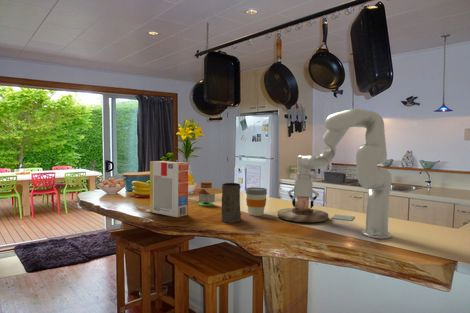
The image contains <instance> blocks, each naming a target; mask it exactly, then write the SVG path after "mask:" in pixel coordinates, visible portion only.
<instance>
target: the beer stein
mask: <svg viewBox="0 0 470 313" xmlns="http://www.w3.org/2000/svg"><path fill="white" fill-rule="evenodd" d="M241 187H242V186H241V184H240V183H238V182H237V183H236V182H225V183H222V184H221V191H222V192H221V217H220V218H221V219H220V221H222V222H223V223H226V224H228V223H229V224H232V223H239V222H240V221H242V215H241V214H242V213H241Z"/></svg>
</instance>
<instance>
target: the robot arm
mask: <svg viewBox="0 0 470 313" xmlns="http://www.w3.org/2000/svg"><path fill="white" fill-rule="evenodd" d="M324 126H325V129H327V130H326V131H325V133H324V134H323V136H322V142H323V144H325V147H324V149H323V150H322V152H321V154H312V155H311V154H310V155H309V154H299V155H298V156H297V157H296V158H297V159H296V160H297V163H296V178H295V180H294V186H293V189H290V190H288V191H287V194H288V196H289V198H290V199H291V200H292V202H291V203H292V204H291V205H292V208H294V207H295V201H296V198H297V197H309V200H310V205H309V206H310V209H313V207H314V201H315V200H316V199H317V198H318V196H319V194H320V193H319V192H318V191H315V190H314V189H313V178H314V175H312V174H311V170H318V169H319V170H320V169H322V170H323V169H325V168H327V167H328V166H329V165H330V163H331V162H332V160H333V159H334V158H335V156H336V153H337V146H338V145H339V143H340V142H341V140H342V139H343V138H344V136H345V135H346V133H347V132H348V131H349V129H350V128H365V129H366V130H365V133H364V134H365V135H364V136H365V138H364V139H365V144H362V145H360V146H359V147H358V148H357V151H356V154H355V163H356V174H357V175H356V176H357V181H358V184H359V185H360V186H361V187H362V188H363V189H365V190H367V192H366V193H367V194H366V209H365V211H366V212H365V214H366V215H365V229H363V230H361V234H362V236H364V237H368V238H372V239H378V240H379V239H380V240H381V239H383V240H385V239H387V240H388V239H390V238H392V233H390V232H389V215H390V214H389V210H390V208H389V207H390V194H391V193H390V192H391V187H392V182H393V179H392V178H393V177H392V174H391V172H390V171H389V170H388V169H387V168H384V167H378V165H381V164H383V163H385V161H386V160H387V158H388V157H387V156H388V154H387V143H386V134H385V132H386V130H385V121H384V118H383V117H382V116H381V115H380V114H379V113H378V112H376V111H373V110H369V109H361V108H349V109H346V110H345V109H344V110H342V111H338V112H335V113H331V114H329V115H328V116H327V117H326V119H325V121H324ZM292 193H293V194H292ZM313 194H314V195H315V196H313Z"/></svg>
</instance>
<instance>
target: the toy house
mask: <svg viewBox="0 0 470 313" xmlns="http://www.w3.org/2000/svg"><path fill="white" fill-rule="evenodd" d="M212 184H213V182H211V181H201V182H200V188H201V189H199V191H198V193H197V195H198V203H197V205H198V206H200V207H211V206H214V205H215V201H216V199H215V198H216V197H215V196H216V195H215V193H209V192H207V191H206V190H205V189H212V187H213V185H212Z"/></svg>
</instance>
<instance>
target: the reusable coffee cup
mask: <svg viewBox="0 0 470 313" xmlns="http://www.w3.org/2000/svg"><path fill="white" fill-rule="evenodd" d="M267 191H268V189H267V188H265V187H258V186H257V187H253V186H252V187H246V188H245V195H246V198H245V202H246V206H247V214H248V215H250V216H254V217H255V216H256V217H258V216H263V215H264V213H265V207H266V204H267V194H268V192H267Z"/></svg>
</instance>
